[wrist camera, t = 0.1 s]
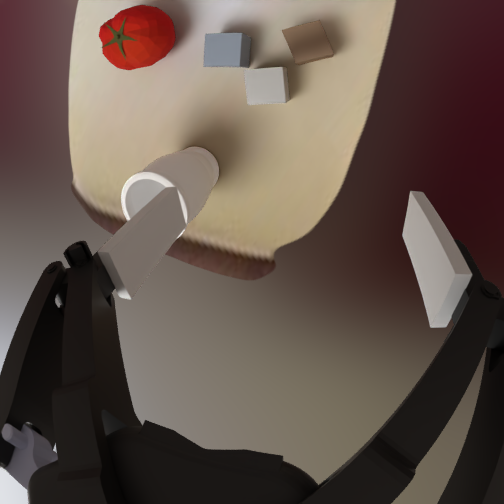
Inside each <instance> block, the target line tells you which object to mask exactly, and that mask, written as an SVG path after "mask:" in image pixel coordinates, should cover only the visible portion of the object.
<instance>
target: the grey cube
mask: <svg viewBox="0 0 504 504" xmlns="http://www.w3.org/2000/svg"><path fill="white" fill-rule="evenodd" d="M244 78H245V86H246V94H247V103H248V105H257V104H273V103H286V102H288V101H289V100H290V97H289V86H288V75H287V68H284V67H273V68H260V69H250V70H244Z"/></svg>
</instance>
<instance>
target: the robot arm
mask: <svg viewBox="0 0 504 504" xmlns="http://www.w3.org/2000/svg"><path fill="white" fill-rule="evenodd" d="M185 227H186V222H185V218H184V214H183V210H182V206H181V202H180V198H179V194H178V190H177V187H166V188H165V189H163V190H162V191H161V192H160V193H159V194H158V195H156V196H155V197H154V198H153V199H152V200H151V201H150V202H148V203H147V204H146V205H145V206H144V207H143V208H142V209H141V210H140V211H138V212H137V213H136V214H135V215H134V216H133V217H132V218H131V219H130V220H129V221H128V222H127V223H126V224H125V225H123V226H122V227H121V228H120V229H119V230H118V231H117V232H116V233H115V234H114V235H113V236H112V237H111V238H110V239H109V240H108V241H107V242H106V243H105V244H104V245H103V246H102V247H101V248H100V249H99V250H98V251H97V252H96V253H95V254H94V255H93V256H92V254H91V251H90V249H89V247H88V245H87V243H86V241H79V242H76V243H74V244H72V245H71V246H69V247H68V248H67V249H66V250H65V252H64V255H65V258H66V260H67V262H68V264H69V265H70V267H71V268H66V269H65V267H64V266H63V264H62V262H61V261H56V262H53V263H51V264H49V265H48V267H46V269H45V270H44V271H43V273H42V275H41V277H40V279H39V281H38V283H37V285H36V286H35V288H34V291H33V292H32V295H31V297H30V299H29V301H28V303H27V305H26V307H25V310H24V312H23V314H22V316H21V319H20V321H19V323H18V326H17V328H16V331H15V333H14V336H13V339H12V341H11V344H10V347H9V349H8V352H7V355H6V358H5V361H4V364H3V368H2V371H1V374H0V468H1V469H3V470H5V471H7V472H8V473H9V474H10V475H11V476H13V477H14V478H15V479H16V480H17V481H18V482H19V483H20V484H21V485H22V486H23V487H25V488H26V489H27V490H28V502H29V503H28V504H391V503H392V502H393V501H394V500H395V499H396V498H397V497H398V496H399V495H400V493H401V492H402V491H403V490H404V489H405V488H406V487H407V486H408V484H409V483H410V482H411V480H412V479H413V477H414V475H415V469H416V467H417V465H418V464H419V463H420V461H421V460H422V459H423V457H424V456H425V455H426V454H427V452H428V451H429V449H430V448H431V447H432V445H433V444H434V442H435V441H436V440H437V438H438V437H439V435H440V434H441V432H442V431H443V429H444V428H445V426H446V424H447V423H448V421H449V420H450V418H451V416H452V415H453V413H454V411H455V410H456V408H457V406H458V404H459V403H460V401H461V399H462V397H463V395H464V393H465V391H466V390H467V387H468V386H469V384H470V382H471V380H472V377H473V375H474V373H475V371H476V369H477V366H478V365H479V362H480V360H481V358H482V355H483V353H484V350H485V348H486V347H487V350H486V357H485V364H484V370H483V375H482V380H481V386H480V390H479V395H478V399H477V403H476V407H475V411H474V415H473V418H472V422H471V425H470V428H469V431H468V434H467V437H466V440H465V443H464V446H463V448H462V451H461V453H460V456H459V459H458V461H457V463H456V466H455V468H454V471H453V473H452V475H451V477H450V479H449V481H448V484H447V486H446V488H445V490H444V492H443V494H442V496H441V497H440V499H439V501H438V504H504V298H503V297H502V295H501V292H500V290H499V289H498V288H497V286H495V285H494V284H493V283H492V282H489V281H487V280H484V278H483V277H482V275H481V273H480V271H479V269H478V267H477V265H476V263H475V262H474V259H473V258H472V256H470V252H469V251H468V249H467V247H466V246H465V245H464V244H463V243H462V242H461V241H459V240H454V239H453V238H452V236H451V235H450V233H449V231H448V230H447V228H446V226H445V225H444V223H443V222H442V220H441V219H440V217H439V215H438V214H437V212H436V211H435V209H434V208H433V206H432V205H431V203H430V202H429V200H428V199H427V197H426V196H425V195H424V193H423V192H415V191H410V197H409V203H408V209H407V214H406V220H405V225H404V230H403V235H402V236H403V238H404V241H405V244H406V247H407V249H408V252H409V255H410V258H411V261H412V264H413V267H414V270H415V273H416V276H417V279H418V282H419V286H420V289H421V293H422V296H423V299H424V303H425V307H426V311H427V315H428V319H429V323H430V327H446V326H447V324H448V323H449V321H450V319H451V317H452V320H453V323H454V326H453V328H452V329H451V331H450V333H449V334H448V336H447V338H446V339H445V341H444V343H443V345H442V346H441V348H440V350H439V351H438V353H437V354H436V356H435V358H434V359H433V361H432V362H431V364H430V365H429V367H428V368H427V370H426V371H425V373H424V374H423V376H422V377H421V378H420V380H419V381H418V382H417V384H416V385H415V387H414V388H413V389H412V391H411V392H410V393H409V394H408V396H407V397H406V398H405V400H404V401H403V402H402V404H401V405H400V406H399V407H398V408H397V410H396V411H395V412H394V413H393V414H392V415H391V417H390V418H389V419H388V420H387V421H386V422H385V424H384V425H383V426H382V427H381V428H380V429H379V430H378V431H377V432H376V433H375V434H374V435H373V436H372V438H371V439H370V440H369V441H368V442H367V443H366V444H365V445H364V446H363V447H362V448H361V449H360V450H359V451H358V452H357V453H356V454H355V455H354V456H352V457H351V458H350V459H349V460H348V461H347V462H346V463H345V464H344V465H342V466H341V467H340V468H339V469H338V470H336V471H335V472H334V473H333V474H332V475H330V476H329V477H328V478H327V479H326V480H324V481H323V482H322V483H321V484H319V485H318V484H317V483H316V482H315V480H314V479H313V478H312V477H310V476H309V475H308V474H307V473H305V472H304V471H303V470H301V469H300V468H298V467H296V466H294V465H292V464H290V463H287V462H285V461H283V456H281V455H274V454H267V453H261V452H256V451H250V450H211V449H204V448H202V447H200V446H198V445H197V444H195V443H193V442H192V441H190V440H188V439H187V438H185V437H184V436H182V435H180V434H178V433H177V432H176V431H174V430H171V429H168V428H166V427H163V426H160V425H157V424H155V423H152V422H149V421H147V420H145V422H144V424H143V426H142V424H141V422H140V421H139V420H138V418H137V416H136V414H135V412H134V409H133V405H132V401H131V396H130V392H129V388H128V383H127V379H126V374H125V369H124V364H123V358H122V353H121V348H120V341H119V335H118V328H117V327H118V326H117V319H116V310H115V301H114V297H113V295H112V292H113V290H114V289H116V291H117V292H118V294H119V296H120V297H121V298H126V299H132V298H133V297H134V295H135V294H136V292H137V291H138V289H139V288H140V287H141V285H142V284H143V283H144V281H145V280H146V278H147V277H148V276H149V274H150V273H151V272H152V270H153V269H154V268H155V266H156V265H157V263H158V262H159V261H160V260H161V258H162V257H163V256H164V254H165V253H166V252H167V250H168V249H169V248H170V246H171V245H172V244H173V243H174V241H175V240H176V239H177V237H178V236H179V235H180V234H181V232H182V231H183V230H184V229H185ZM55 298H57V299H58V301H59V302H60V304H61V305H60V307H59V308H58V306H57V305H56V303H55ZM55 442H56V450H57V453H56V452H55V451H53V449H54V446H55Z"/></svg>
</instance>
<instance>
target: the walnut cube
mask: <svg viewBox="0 0 504 504" xmlns="http://www.w3.org/2000/svg"><path fill="white" fill-rule="evenodd" d="M282 32H283V34H284V37H285V39H286V41H287V43H288V46H289V48H290V50H291V53H292V55H293V58H294V60H295V63H296V64H298V65H301V64H305V63H309V62H313V61H317V60H321V59H326V58H330V57H333V55H334V53H333V51H332V48H331V46H330V43H329V41H328V38H327V36H326V34H325V31H324V29H323V27H322V25H321V22H320V20H319V21H315V22H310V23H306V24H302V25H298V26H295V27H291V28H288V29H284V30H282Z"/></svg>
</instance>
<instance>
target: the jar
mask: <svg viewBox="0 0 504 504" xmlns="http://www.w3.org/2000/svg"><path fill="white" fill-rule="evenodd" d="M218 177H219V166H218V163H217V161H216V159H215V157H214V156H213V155H212V154H211V153H210V152H209V151H208V150H206V149H204V148H201V147H188V148H186V149H184V150H183V151H178V152H174V153H172V154H168V155H165V156H162V157H160V158H158V159H156V160H155V161H153V162H152V163H150V164H149V165H148V166H147V167H146V168H145V169H144V170H143V171H140V172H138V173H136V174H134V175H133V176H131V177H130V178H129V179H128V180H127V181H126V183H125V184H124V187H123V189H122V193H121V204H122V209H123V212H124V215H125V217H126V219H127V220H128V221H129V220H130V219H131V218H132V217H133V216H134V215H135V214H136V213H137V212H138V211H140V210H141V209H142V208H143V207H144V206H145V205H146V204H147V203H148V202H150V201H151V200H152V199H153V198H154V197H155V196H156V195H158V194H159V193H160V192H161V191H162V190H163V189H165V188H166V187H177V190H178V194H179V198H180V202H181V206H182V210H183V214H184V218H185V222H186V227H187V225H188V223H189V222H191V221H192V220H193V219H194V218H195V217H196V216H197V215H198V214H199V212H200V211H201V210H202V208H203V207H204V205H205V203H206V201H207V199H208V197H209V195H210V193H211V190H212V187H213V186H214V185H215V184H216V182H217V180H218ZM186 227H185V229H186ZM185 229H184V230H183V231H182V232H181V234H182V233H183V232H184V231H185ZM181 234H180V235H181ZM180 235H179V236H180ZM179 236H178V237H179ZM178 237H177V238H178Z"/></svg>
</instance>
